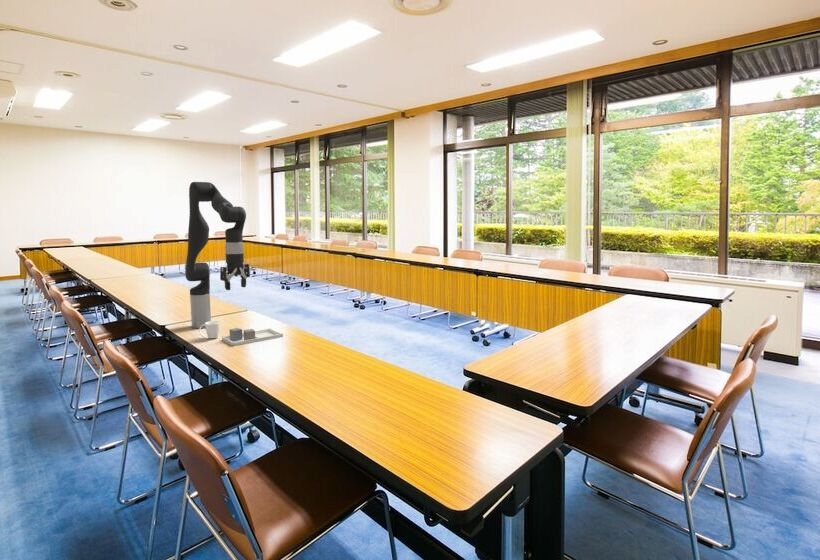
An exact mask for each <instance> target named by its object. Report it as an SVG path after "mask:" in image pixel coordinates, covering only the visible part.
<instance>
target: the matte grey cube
mask: <svg viewBox="0 0 820 560" xmlns="http://www.w3.org/2000/svg"><path fill="white" fill-rule="evenodd" d="M242 333H243V329H242V328H239V327H234V328H231V329H230V328H229V335H230V340H232V341H239V340H243V339H242Z"/></svg>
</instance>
